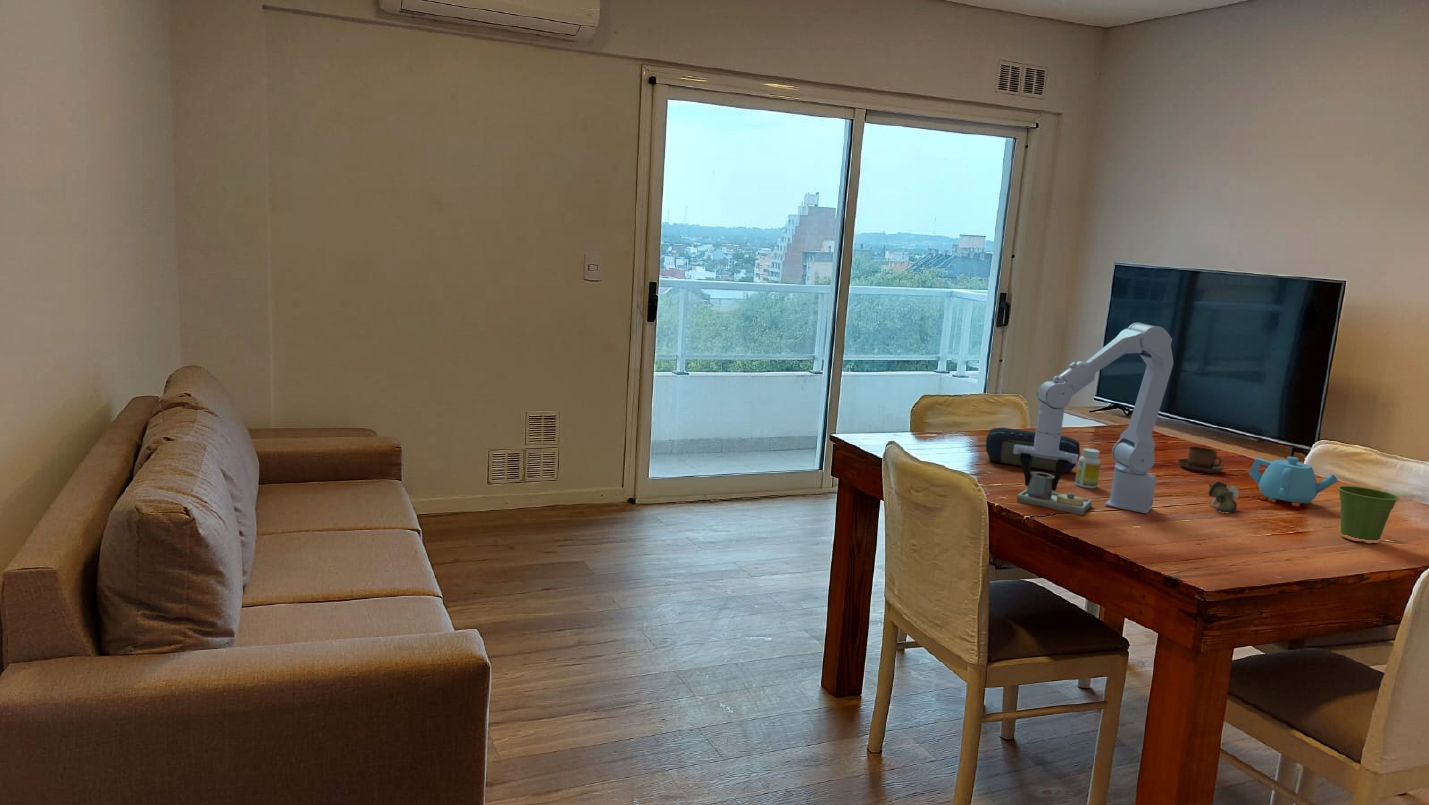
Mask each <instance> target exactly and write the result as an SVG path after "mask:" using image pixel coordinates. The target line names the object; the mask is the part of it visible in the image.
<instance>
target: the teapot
mask: <svg viewBox="0 0 1429 805" xmlns="http://www.w3.org/2000/svg"><path fill="white" fill-rule="evenodd" d="M1299 460H1300V458H1298V457H1295V456H1287V458H1286V459H1285V460H1284V459H1275V460H1272V461H1270V460H1266V459H1262V458H1260V457H1255V460H1254V462H1253V463H1252V465H1251V467H1250V470H1249V471H1248V473H1247V474H1248V475H1249V476H1250V477H1251V478H1252V479H1253V480H1254V481H1255V483H1256V484H1258V489H1259V492H1260V493H1261V495H1262V496H1265V497H1267V498H1268V499H1271V500H1277V501H1278V500H1280V501H1285V502H1290V503H1291V502H1293V503H1300V504H1302V503H1304V504H1310V503H1311V502H1312V501H1313V500H1315V498H1316V497H1317V496H1318V494H1319V493H1321V492H1322V491H1324V490H1326V489H1329V487H1331V486H1333V485H1335V484H1337V483H1338V482H1339V479H1338V478H1337V477H1336V476H1335V475H1334V474H1331V475H1329V476H1326V477H1325V478H1324V479H1323V480H1321V481H1319V482H1318V481H1317V477H1316V474H1315V471H1314V469H1313V467H1312V465H1311V464H1310V465H1309V464H1306V463H1303V462H1300V461H1299ZM1261 465H1263V466H1265V467H1266V469H1265V470H1264V471H1263V473H1262V474H1261V473H1260V472H1259V470H1260V468H1261ZM1317 482H1318V483H1317Z"/></svg>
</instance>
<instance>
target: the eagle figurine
mask: <svg viewBox="0 0 1429 805" xmlns="http://www.w3.org/2000/svg"><path fill="white" fill-rule="evenodd" d="M1208 486H1209V490H1208V496H1209V497H1211V498H1212V497H1213V498H1214V499H1213V500H1212V501H1211V503H1210V504H1209V507H1212V506H1215V505H1217V504H1219V505H1217V507H1216V508H1215V509H1214V510H1215V511H1216V512H1217V511H1221V512H1229V513H1228V514H1234V513H1235V512H1237V502H1236V501H1235V500H1234V499H1236V500H1237V499H1239V496H1240V490H1239V489H1238V487H1236V486H1234V485H1230V486H1229V488H1227V483H1224V482H1221V481H1217V482H1215V483H1213V484H1211V483H1210V482H1209V483H1208ZM1230 512H1232V513H1230ZM1233 512H1234V513H1233Z"/></svg>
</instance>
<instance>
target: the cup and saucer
mask: <svg viewBox="0 0 1429 805" xmlns="http://www.w3.org/2000/svg"><path fill="white" fill-rule="evenodd" d="M1216 460H1218V461H1219V463H1216ZM1177 462H1178V464H1179V465H1180V466H1181V467H1183V468H1185V469H1188V470H1190V471H1194V472H1199V473H1209V474H1210V473H1220V472H1221V471H1223V470H1224V466H1223V465H1222V464H1223V461H1222V458H1221V457H1219V456H1218V451H1217V450H1215V449H1212V448H1207V447H1202V446H1190V447H1189V448H1188V454H1187V458H1179V459H1178V461H1177Z"/></svg>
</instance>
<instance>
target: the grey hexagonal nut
mask: <svg viewBox="0 0 1429 805" xmlns="http://www.w3.org/2000/svg"><path fill="white" fill-rule="evenodd" d="M1054 477H1055V475H1054V474H1050V473H1048V472H1047V473H1046V472H1042V471H1031V473H1030V476H1029V482H1028V486H1027V488H1026V489H1027V494H1028V495H1031V496H1033V497H1038V498H1042V499H1051V497H1052V493H1053V492H1054V491H1053V490H1052V486H1053V482H1054Z"/></svg>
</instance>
